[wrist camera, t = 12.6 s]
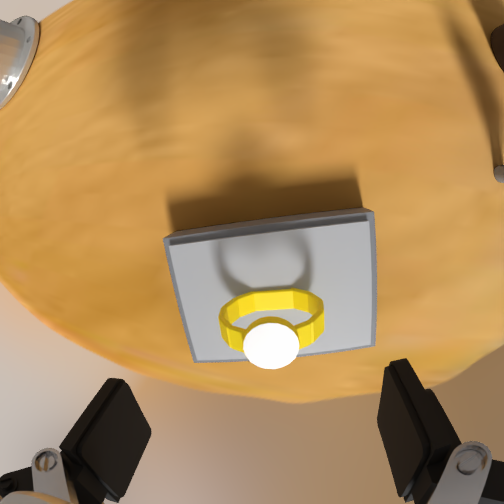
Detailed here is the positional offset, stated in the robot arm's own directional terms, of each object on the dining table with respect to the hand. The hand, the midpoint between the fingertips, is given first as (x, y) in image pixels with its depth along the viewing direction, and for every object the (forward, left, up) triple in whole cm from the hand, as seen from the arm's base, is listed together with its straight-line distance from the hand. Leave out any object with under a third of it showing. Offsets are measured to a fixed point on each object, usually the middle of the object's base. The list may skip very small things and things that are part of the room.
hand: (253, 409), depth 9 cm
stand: (0, 0, -13) cm, 13 cm away
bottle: (+27, +19, -14) cm, 36 cm away
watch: (0, 0, -11) cm, 11 cm away
